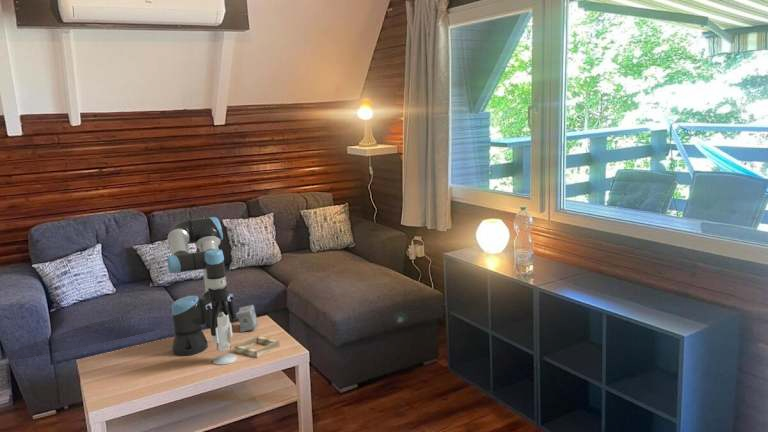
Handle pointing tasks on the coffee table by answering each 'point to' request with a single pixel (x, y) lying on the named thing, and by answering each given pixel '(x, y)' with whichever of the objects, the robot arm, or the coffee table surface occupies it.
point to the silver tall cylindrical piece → (223, 332)
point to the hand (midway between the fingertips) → (223, 339)
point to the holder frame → (256, 353)
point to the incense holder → (247, 318)
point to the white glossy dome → (225, 359)
